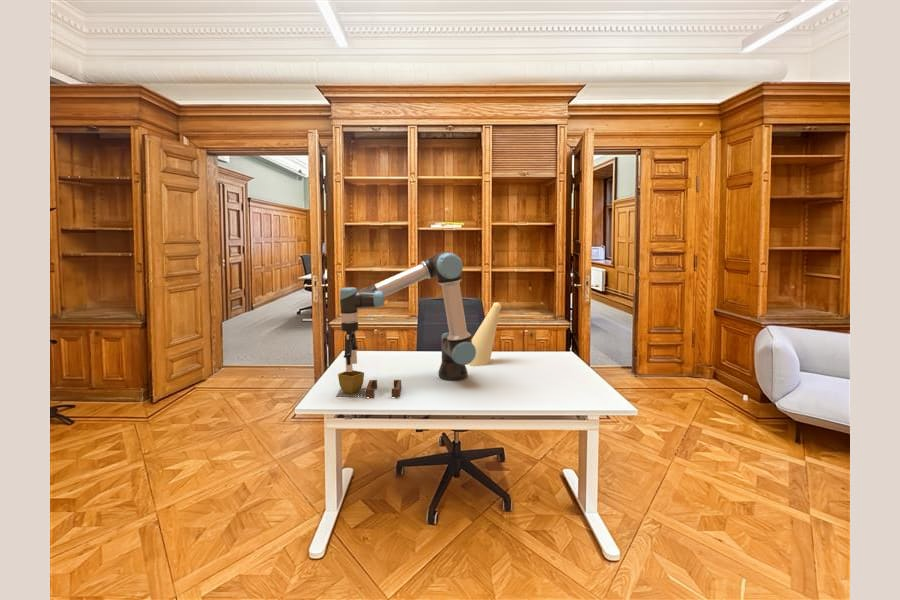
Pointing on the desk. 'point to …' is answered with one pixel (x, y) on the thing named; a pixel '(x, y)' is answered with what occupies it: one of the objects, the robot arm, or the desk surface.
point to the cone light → (485, 337)
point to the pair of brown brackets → (373, 385)
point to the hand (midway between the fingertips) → (351, 367)
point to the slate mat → (343, 394)
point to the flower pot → (351, 381)
